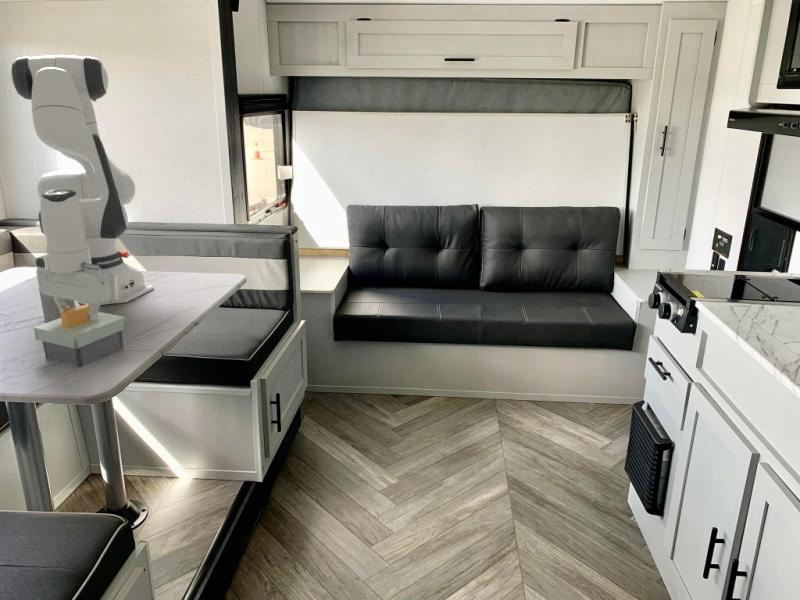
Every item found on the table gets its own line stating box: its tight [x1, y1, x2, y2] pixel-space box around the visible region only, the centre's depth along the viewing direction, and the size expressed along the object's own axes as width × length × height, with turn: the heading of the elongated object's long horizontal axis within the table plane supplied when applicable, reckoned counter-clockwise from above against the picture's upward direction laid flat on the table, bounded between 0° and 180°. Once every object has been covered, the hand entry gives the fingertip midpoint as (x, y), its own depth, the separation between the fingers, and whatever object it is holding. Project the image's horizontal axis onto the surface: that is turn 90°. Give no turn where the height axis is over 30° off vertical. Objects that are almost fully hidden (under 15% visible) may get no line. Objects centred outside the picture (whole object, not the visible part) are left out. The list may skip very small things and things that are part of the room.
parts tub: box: [42, 330, 124, 368], centre depth 152 cm, size 13×12×7 cm
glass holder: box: [38, 288, 76, 324], centre depth 172 cm, size 9×14×15 cm, turn 2°
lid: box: [33, 304, 127, 349], centre depth 150 cm, size 14×13×6 cm
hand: (79, 316), depth 150 cm, fingers open, 8 cm apart
